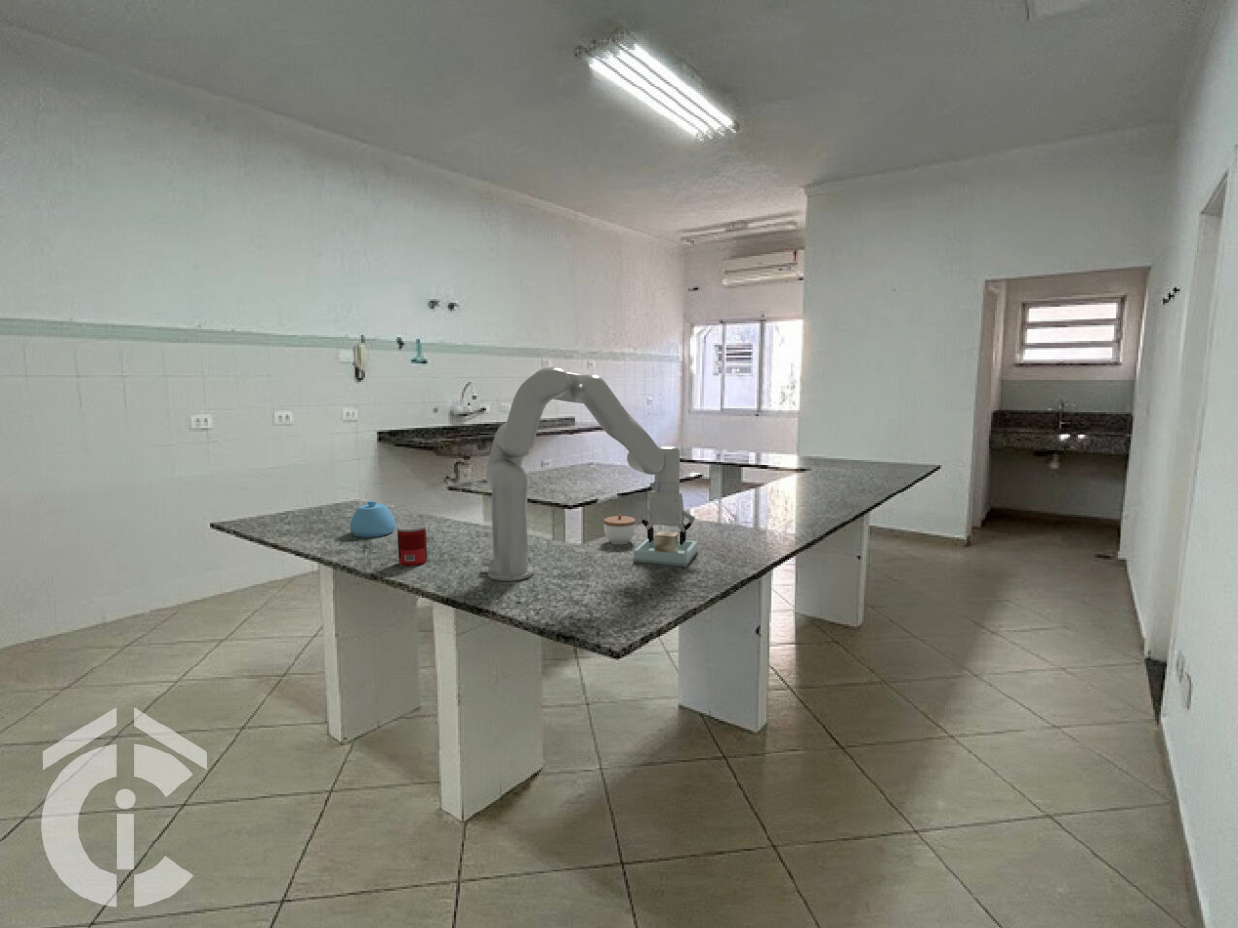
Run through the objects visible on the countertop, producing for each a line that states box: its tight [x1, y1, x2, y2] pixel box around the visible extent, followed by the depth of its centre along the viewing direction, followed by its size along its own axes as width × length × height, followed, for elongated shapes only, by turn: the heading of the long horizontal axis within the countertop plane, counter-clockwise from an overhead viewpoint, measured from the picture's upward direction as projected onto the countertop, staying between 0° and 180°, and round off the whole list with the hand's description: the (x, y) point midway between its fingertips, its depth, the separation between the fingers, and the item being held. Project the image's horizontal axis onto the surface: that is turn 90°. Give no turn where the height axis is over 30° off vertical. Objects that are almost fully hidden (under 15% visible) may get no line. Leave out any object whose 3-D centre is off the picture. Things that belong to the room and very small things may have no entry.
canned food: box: [396, 523, 428, 567], centre depth 183 cm, size 8×8×11 cm
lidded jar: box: [603, 513, 637, 545], centre depth 206 cm, size 11×11×9 cm
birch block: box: [654, 531, 679, 553], centre depth 188 cm, size 6×6×6 cm
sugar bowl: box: [349, 500, 397, 538], centre depth 218 cm, size 15×15×12 cm
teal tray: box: [633, 538, 698, 568], centre depth 189 cm, size 16×16×4 cm
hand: (666, 542), depth 188 cm, fingers open, 9 cm apart
